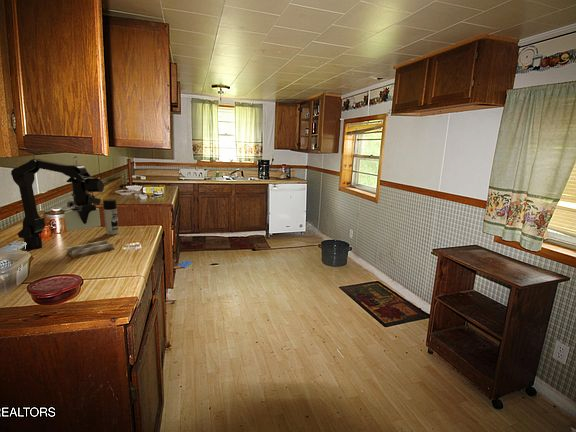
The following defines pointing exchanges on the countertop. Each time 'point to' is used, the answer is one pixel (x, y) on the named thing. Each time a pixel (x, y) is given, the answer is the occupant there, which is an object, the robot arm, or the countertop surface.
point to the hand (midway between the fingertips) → (83, 223)
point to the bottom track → (89, 249)
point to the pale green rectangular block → (76, 223)
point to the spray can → (111, 217)
